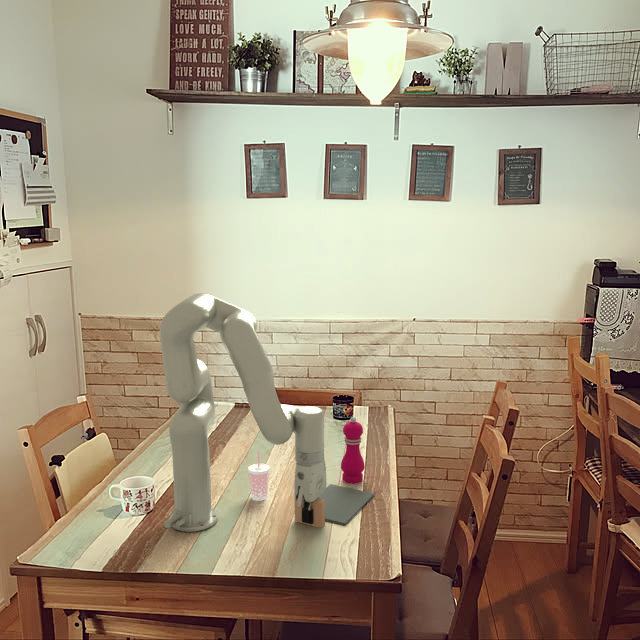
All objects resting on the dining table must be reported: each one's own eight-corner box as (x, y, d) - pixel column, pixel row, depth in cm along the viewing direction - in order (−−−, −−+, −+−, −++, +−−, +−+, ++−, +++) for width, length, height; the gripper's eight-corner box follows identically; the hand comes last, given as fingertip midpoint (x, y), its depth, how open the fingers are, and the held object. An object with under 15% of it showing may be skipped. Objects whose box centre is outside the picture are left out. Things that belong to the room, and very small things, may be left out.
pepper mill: (337, 482, 199) (337, 419, 196) (344, 473, 206) (345, 412, 202) (360, 486, 197) (361, 422, 193) (367, 476, 204) (368, 414, 200)
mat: (345, 525, 173) (345, 523, 173) (298, 514, 179) (298, 512, 179) (374, 495, 191) (374, 493, 191) (330, 485, 197) (330, 484, 197)
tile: (321, 527, 172) (321, 502, 171) (294, 521, 175) (294, 496, 174) (324, 524, 174) (325, 499, 172) (298, 518, 177) (298, 493, 176)
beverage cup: (265, 503, 186) (264, 456, 183) (245, 500, 188) (244, 453, 185) (273, 494, 192) (272, 448, 189) (253, 491, 193) (252, 445, 191)
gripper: (308, 468, 163) (308, 537, 166) (335, 447, 176) (335, 511, 180) (281, 462, 166) (282, 530, 169) (310, 442, 180) (311, 505, 183)
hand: (309, 520), depth 174 cm, fingers closed on tile, 1 cm apart
